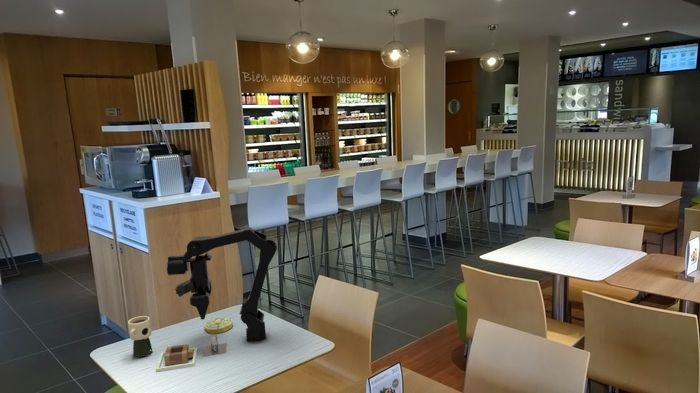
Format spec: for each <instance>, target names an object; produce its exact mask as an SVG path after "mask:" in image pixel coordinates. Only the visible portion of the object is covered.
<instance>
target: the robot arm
mask: <svg viewBox="0 0 700 393" xmlns="http://www.w3.org/2000/svg"><path fill="white" fill-rule="evenodd" d="M245 241H247V242H249V243H250V244H252V245H253V246H254V247H255V248H257V249H258V250H259V262H258V264H257V268H256V272H255V276H254V278H253V283H252V286H251V290H250V293H249V295H248V297H247V298H245V297H244V298H243V300H242V305H241V306H240V310H239V313H238V314H239V315H240V320H241V322H242V323H243V324H245V325H246V327H247V328H245V333H246V334H245V335H246V341H247V342H250V343H251V342H252V343H258V342H262V341H264V340H267V334H266V332H267V331H266V323H265V321H264V318H265V313H264V312H262V311H260V309H259V305H260V297H261V293H262V290H263V286H264V283H265V280H266V276H267V272H268V270H269V266H270V263H271V262H272V260H273V258H274V256H275V254H276V252H277V249H278V240H277V239H276V237H274V236H272V235H266V234H265V233H263V232H262V233H261V232H259V231H258V230H255V228H254V229H253V228H252V227H245V228H243V229H238V230H234V231H230V232H226V233H222V234H218V235H214V236H213V235H212V236H210V235H205V236H204V235H202V236H195V237H192V238H191V239H190V241H189V242H188V243H187V246H186V251H185V252H184V254H183V255H169V256H168V257H167V266H166V272H167V275H168V276H171V277H172V276H179V275H181V276H182V275H186V274H187V272H190V277H189V279H188V280H186V281H183V282H181V283H179V284H177V285H176V286H175V289H174V290H175V294H176V295H177V296H178V297H179V298H180V297H183V296H184V295H186V294H188V293H191V295H190V298H189V304H190V305H191V306H192V307H195V308H196V310H197V311H198V315H199V317H200V320H205V318H206V315H207V311H208V308H209V305H210V297H211V293H212V289H213V285H212V280H210V279H209V270H208V262H209V261H211V260H212V258H213V256H212V255H211V254H209V253H208V252H210V251H211V250H214V249H217V248H221V247H224V246H229V245H232V244H237V243H242V242H245Z"/></svg>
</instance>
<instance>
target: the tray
mask: <svg viewBox="0 0 700 393" xmlns="http://www.w3.org/2000/svg"><path fill="white" fill-rule="evenodd" d="M190 349H193V357H192V361H191V362H188V363H185V364H179V365H173V366H166V367H165V366H161V365H162V363H163V360H164V355H165V352H166V351H162V352H161V353H160V356H159V358H158V360H157V361H158V362H157V364H156V367H155V373H159V372H166V371H167V372H168V371H174V370H179V369H185V368H192V367H195V366H196V361H197V355H198V347H197V346H196V347H195V346H194V347H189V350H190Z"/></svg>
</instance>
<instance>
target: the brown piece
mask: <svg viewBox="0 0 700 393" xmlns="http://www.w3.org/2000/svg"><path fill="white" fill-rule="evenodd" d="M189 348H190V346H189V343H183V344H179V345H172V346H167V347H166V349H165V351H164V352H165V355H164V357H163V360H164V367H166V366H173V365H179V364H185V363H189V359H190V358H193V355H194V352H193V349H190V350H189Z"/></svg>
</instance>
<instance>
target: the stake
mask: <svg viewBox="0 0 700 393" xmlns="http://www.w3.org/2000/svg"><path fill="white" fill-rule="evenodd" d="M209 342H210V345H205V346H203V347H202V348H203V349H202V355H201V356H202V358H203V357H211V356H215V355H222V354H226V353H227V342H225V343H218V336H217V334H211V335H210V336H209Z"/></svg>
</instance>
